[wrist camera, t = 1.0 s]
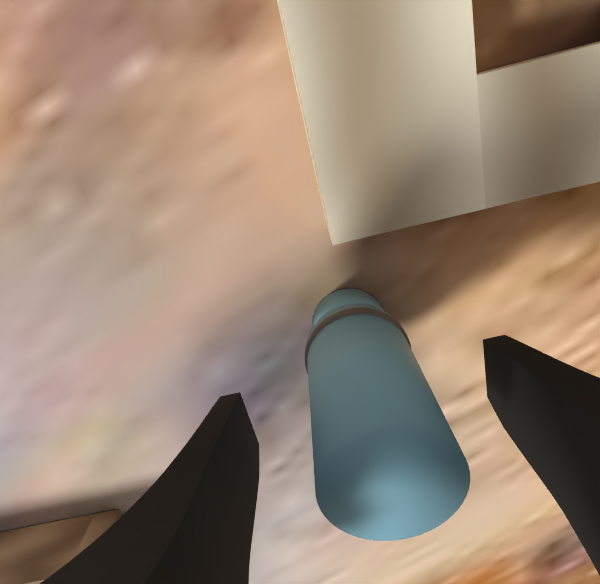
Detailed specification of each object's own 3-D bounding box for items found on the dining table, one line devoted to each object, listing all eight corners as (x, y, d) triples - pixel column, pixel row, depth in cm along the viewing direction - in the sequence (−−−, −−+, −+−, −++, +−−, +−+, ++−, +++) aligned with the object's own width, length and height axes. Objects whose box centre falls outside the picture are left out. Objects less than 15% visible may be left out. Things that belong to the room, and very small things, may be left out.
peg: (385, 269, 16) (466, 407, 8) (399, 349, 17) (479, 527, 10) (293, 290, 16) (294, 443, 9) (313, 367, 17) (330, 554, 10)
